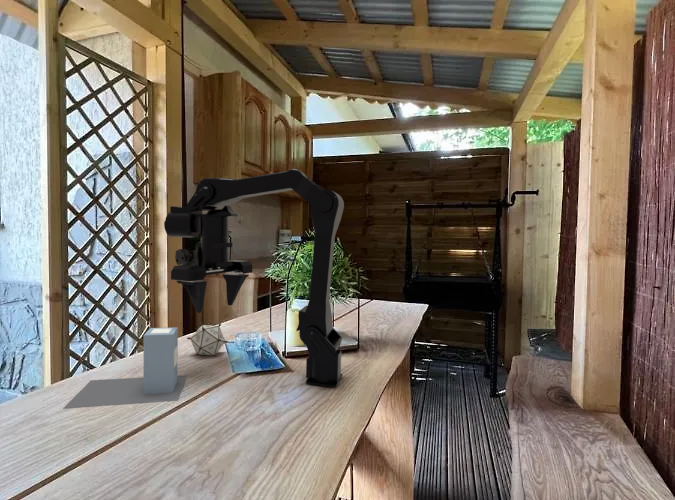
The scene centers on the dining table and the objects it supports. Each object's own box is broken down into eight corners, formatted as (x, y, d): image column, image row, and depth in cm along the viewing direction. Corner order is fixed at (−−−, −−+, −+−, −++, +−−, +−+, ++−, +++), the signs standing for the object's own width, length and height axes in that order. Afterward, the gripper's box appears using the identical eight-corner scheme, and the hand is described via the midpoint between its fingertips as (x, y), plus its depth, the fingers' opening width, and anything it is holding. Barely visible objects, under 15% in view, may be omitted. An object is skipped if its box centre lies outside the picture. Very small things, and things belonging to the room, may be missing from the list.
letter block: (177, 381, 76) (178, 326, 76) (173, 392, 72) (173, 333, 71) (150, 383, 75) (150, 327, 75) (143, 394, 70) (143, 334, 70)
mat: (187, 377, 80) (187, 374, 80) (178, 403, 69) (178, 400, 68) (90, 383, 76) (90, 380, 76) (62, 411, 64) (62, 408, 64)
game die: (215, 369, 95) (240, 335, 97) (200, 368, 87) (228, 331, 89) (189, 347, 98) (214, 315, 100) (172, 345, 89) (200, 309, 91)
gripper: (218, 236, 96) (219, 298, 96) (151, 237, 79) (153, 312, 80) (253, 237, 91) (253, 303, 91) (190, 238, 74) (191, 319, 75)
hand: (215, 308), depth 85 cm, fingers open, 9 cm apart
